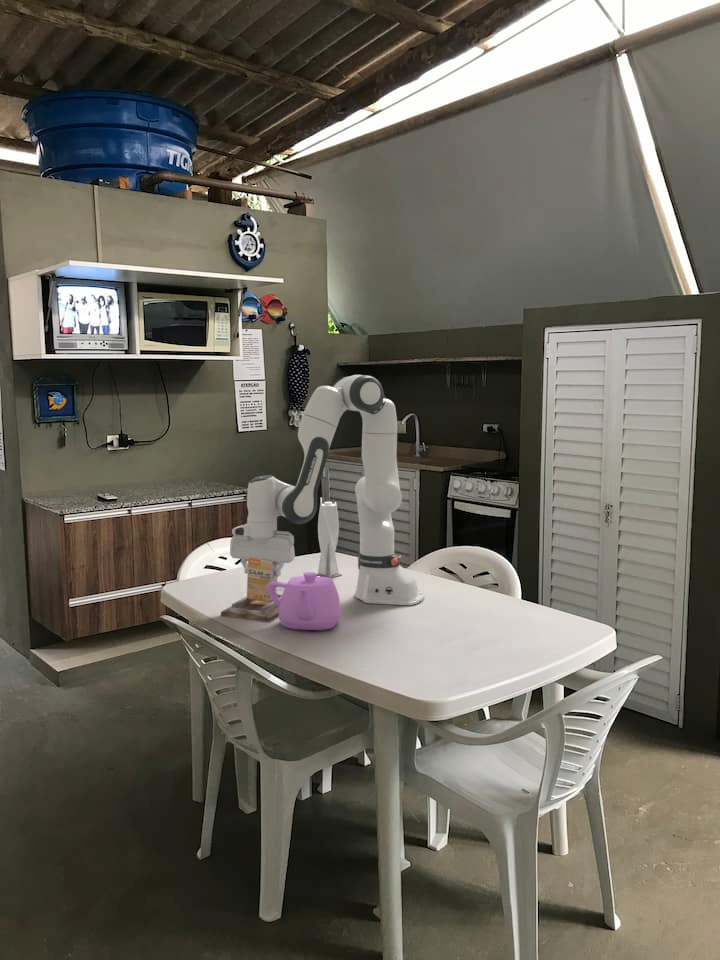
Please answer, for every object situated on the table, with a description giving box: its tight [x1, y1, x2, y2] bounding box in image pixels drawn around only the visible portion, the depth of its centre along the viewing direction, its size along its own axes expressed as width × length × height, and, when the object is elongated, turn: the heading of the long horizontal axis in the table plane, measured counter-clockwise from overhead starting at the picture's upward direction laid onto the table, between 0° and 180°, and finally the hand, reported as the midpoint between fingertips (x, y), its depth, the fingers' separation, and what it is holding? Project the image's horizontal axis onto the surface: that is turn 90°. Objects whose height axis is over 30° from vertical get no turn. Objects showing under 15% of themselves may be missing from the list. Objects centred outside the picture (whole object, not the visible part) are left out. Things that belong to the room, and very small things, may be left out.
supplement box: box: [246, 557, 279, 602], centre depth 233 cm, size 8×5×13 cm, turn 72°
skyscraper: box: [316, 497, 343, 579], centre depth 275 cm, size 8×8×28 cm
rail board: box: [220, 592, 283, 623], centre depth 234 cm, size 16×22×3 cm
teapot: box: [267, 571, 342, 632], centre depth 215 cm, size 23×21×15 cm
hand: (262, 574), depth 233 cm, fingers open, 8 cm apart
